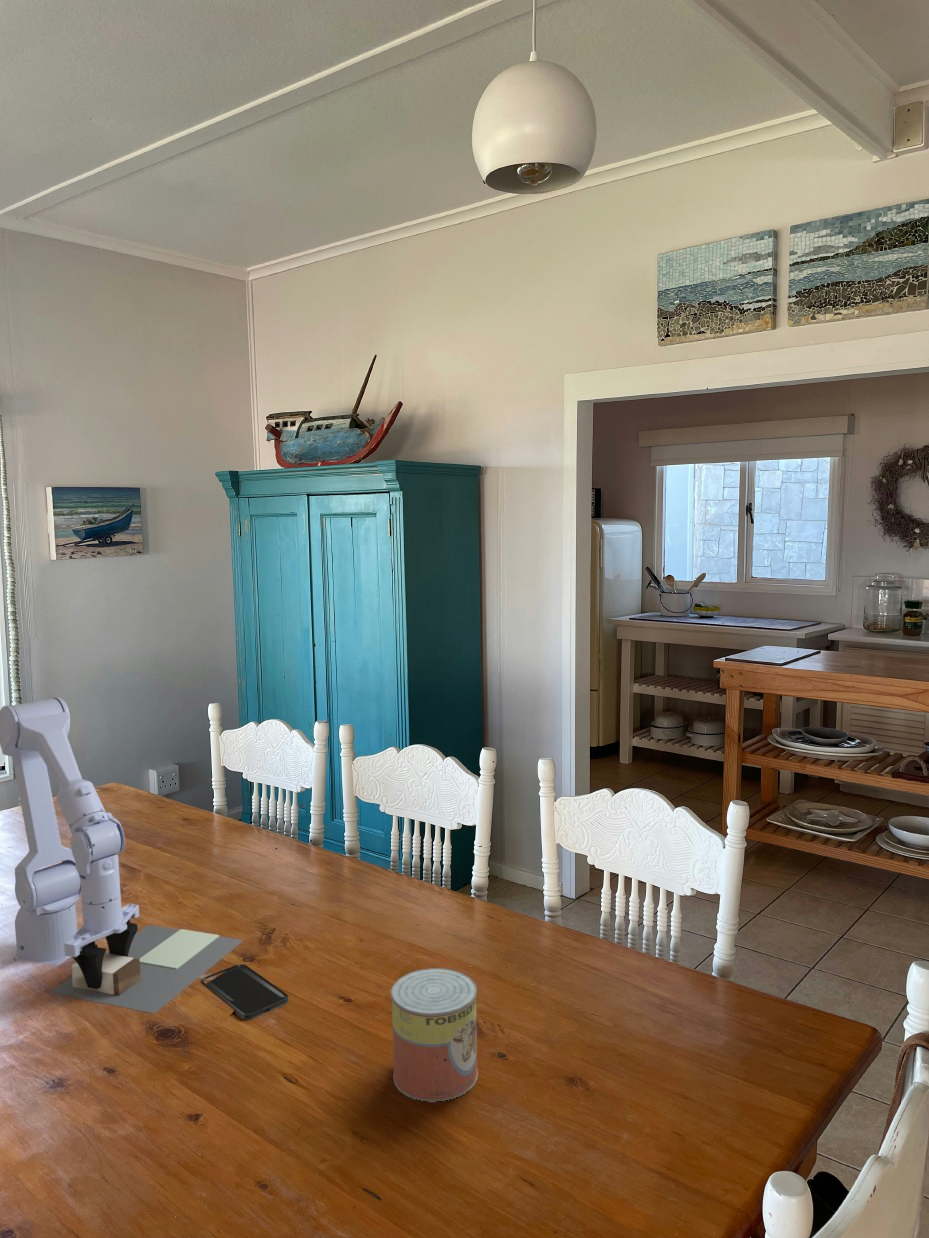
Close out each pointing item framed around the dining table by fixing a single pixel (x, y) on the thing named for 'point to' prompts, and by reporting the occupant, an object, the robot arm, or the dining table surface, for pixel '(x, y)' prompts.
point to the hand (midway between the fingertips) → (106, 978)
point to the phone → (246, 991)
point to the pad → (178, 949)
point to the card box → (112, 974)
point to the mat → (155, 973)
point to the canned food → (434, 1034)
